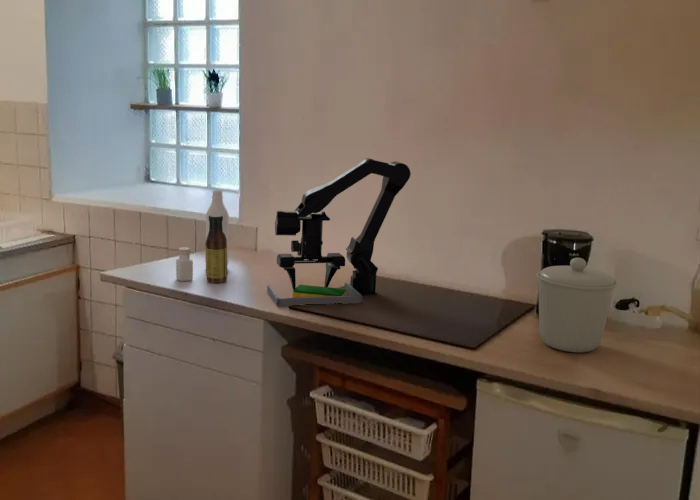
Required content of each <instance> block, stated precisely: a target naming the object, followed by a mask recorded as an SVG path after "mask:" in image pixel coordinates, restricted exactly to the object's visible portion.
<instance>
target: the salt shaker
mask: <svg viewBox="0 0 700 500" xmlns="http://www.w3.org/2000/svg"><path fill="white" fill-rule="evenodd" d="M190 255H191V248H190V247H183V246H182V247H179V248H178V258H177V259H176V260H175V264H176V265H175V269H176V270H175V271H176V273H175V277H176V279H177V280H178V281H179V282H189V281H193V278H194V277H193V275H194V273H193V271H194V266H193V265H194V263H193V259H192V258H191V257H190Z"/></svg>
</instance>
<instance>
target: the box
mask: <svg viewBox="0 0 700 500" xmlns="http://www.w3.org/2000/svg"><path fill="white" fill-rule="evenodd" d="M266 289H267V290H266V292H267V294H268V296H269V297H270V298H271V300H272V302H274V304H275V305H276V307H292V306H291V305H299V304H324V303H332V304H331V305H338V304H337V303H342V304H341V305H344V304H345V305H347V304H349V303H351V304H363V297H364V295H361V294H360V293H359V292H357V291H356V290H355V289H354V288H353V287H352V286H350V283H348V282H344V287H343V289H346V293H348V294H349V295H346V296H327V297H300V298H296V297H281V298H280V296H279V295H278V294H277V292H276V291H275V289H274V288H273V287H272V286H271V284H267V287H266ZM334 303H336V304H334Z"/></svg>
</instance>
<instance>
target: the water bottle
mask: <svg viewBox="0 0 700 500" xmlns="http://www.w3.org/2000/svg"><path fill="white" fill-rule="evenodd" d="M211 199H212V200H211V203H210V205H209V207H208V209H207V211H206V214H205V238H206V239H205V240H207V236H208V233H209V228H210V227H209V215H215V214H218V215H222V216H223V221H222V228H223V230H222V231H223V233H224V234H225V236H226V239H227V242H228V241H229V235H230V234H229V218H230V216H229V212H228V209H227V208H226V206H225V204H224V200H223V199H224V197H223V190H222V189H220V190H219V189H213V190H212V195H211ZM204 259H205V260H204V261H206V256H205V258H204ZM228 265H229V252H228V251H227V266H228Z"/></svg>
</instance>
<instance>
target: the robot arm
mask: <svg viewBox="0 0 700 500" xmlns="http://www.w3.org/2000/svg"><path fill="white" fill-rule="evenodd" d="M371 174H372V175H373V174H374V175H378V176H381V177H382V181H381V182H382V183H381V189H380V192H379V193H378V196H377V198H376V201H375V203H374V204H373V206H372V209H371V212H370V213H369V215H368V217H367V220H366V222H365V224H364V225H363V228H362V230H361V233H360V234H359V235H358V236H357V237H356V238H355V237H353V236H352V237H351V238H350V242H349V243H348V245H347V247H345V250H346V258H345V256H344V255H342V254H341V253H340V252H328V253H326V254H327V255H325V256H323V254H322V249H323V247H322V246H323V227H324V226H323V224H324V221H325V222H326V221H327V222H329V221H331V218H330V217H329V216H328V215H327V214H326V212H325V211H324V209H325V208H326V207H327V206H328V205H329V204H331V202H332V201H334V199H335V198H336V197H337V196H338V195H340V194H341V193H343V192H344V191H346V190H348V189H349V188H351V187H352V186H354V185H355V184H357V183H358V182H360V181H362V180H363V179H365V178H366V177H368V176H370V175H371ZM410 178H411V170H410V167H409V166H408V165H407V164H405V163H402V162H399V161H397V160H396V161H391V162H384V161H379V160H375V159H373V158H369V157H366V158H364V159H362V161H361V162H359V163H358V164H356V165H354V166H353V167H351V168H350V169H348V170H347V171H345V172H344V173H341V175H338V176H337V177H336V178H334V179H332V180H331V181H329V182H327V183H324V184H322V185H318V186H317V187H314V188H311V189H309V190H307V191H305V192H304V193H303V194H302V196H301V197H302V198H301V202H300V203H299V204H298V206H297V207H296V208H295V210H294V211H283V210H276V216H275V221H274V235H275V236H293V237H295V236H297V234H299V233H300V232H301V236H300V241H299V240H297V239H295V240H291V241H290V242H291V243H290V251H291V253H278V254H277V256H276V265H278V266H279V268H282V269H283V270H284V271H286V272H287V275H288V277H289V280H290V283H291V284H290V285H291V287H292V291H293V290H294V289H295V288H296V287H297V285H296V268H295V265H296V264H297V265H298V264H299V265H300V264H325V275H324V287H329V285H330V283H331V281H332V279H333V277H334V276H335V274H336V273H337V271H338V270H341V267H346V259H347V261H348V262H349V263H350V264H351V265H352V266H353V269H355V270H352V274H351V275H350V283H349V285H350V286H352V287H353V288H354V289H355V290H356V291H357V292H359V293H360V294H361V295H362V296H373V295H375V296H376V295H378V292H377V291H376V288H377V272H378V270H379V268H378V266H377V265H376V264H375V263H373V261H372V256H373V253H374V248H375V247H374V245H375V241H376V239H377V236H378V234H379V232H380V229H381V227H382V225H383V223H384V221H385V219H386V217H387V215H388V213H389V211H390V208H391V206H392V204H393V202H394V199H395V197H396V196H397V195H398V194H399V193H400V191H401V190H402V189H403V188H404V187H405V186H406V184H407V183H408V181H409V180H410ZM292 253H296V255H297V256H294V255H293V254H292Z"/></svg>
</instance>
